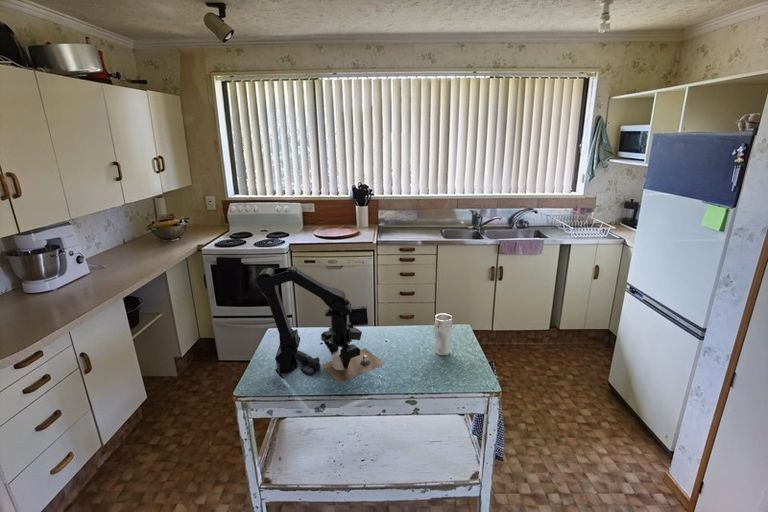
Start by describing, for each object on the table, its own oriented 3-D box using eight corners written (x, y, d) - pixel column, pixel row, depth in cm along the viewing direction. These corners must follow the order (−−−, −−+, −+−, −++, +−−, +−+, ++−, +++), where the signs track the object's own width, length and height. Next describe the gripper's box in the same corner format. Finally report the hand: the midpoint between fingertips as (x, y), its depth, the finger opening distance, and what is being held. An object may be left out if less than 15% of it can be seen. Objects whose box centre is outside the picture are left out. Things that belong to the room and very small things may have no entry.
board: (339, 386, 134) (339, 382, 133) (320, 367, 144) (320, 364, 144) (386, 366, 145) (386, 363, 145) (365, 350, 156) (365, 348, 155)
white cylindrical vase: (454, 354, 153) (456, 319, 148) (438, 357, 150) (440, 322, 146) (445, 345, 159) (446, 312, 155) (430, 349, 156) (431, 315, 152)
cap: (338, 372, 140) (337, 360, 138) (329, 364, 144) (329, 353, 143) (352, 366, 143) (351, 355, 142) (343, 359, 148) (343, 348, 146)
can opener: (325, 373, 142) (324, 359, 140) (308, 380, 137) (307, 366, 136) (301, 353, 155) (300, 341, 153) (285, 360, 150) (284, 347, 149)
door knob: (363, 369, 143) (363, 359, 142) (358, 365, 146) (358, 355, 145) (372, 366, 145) (371, 356, 144) (366, 362, 148) (366, 352, 147)
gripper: (372, 329, 136) (373, 368, 141) (345, 311, 151) (346, 347, 155) (345, 338, 130) (346, 379, 135) (319, 318, 145) (321, 356, 149)
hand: (341, 364), depth 144 cm, fingers open, 7 cm apart
